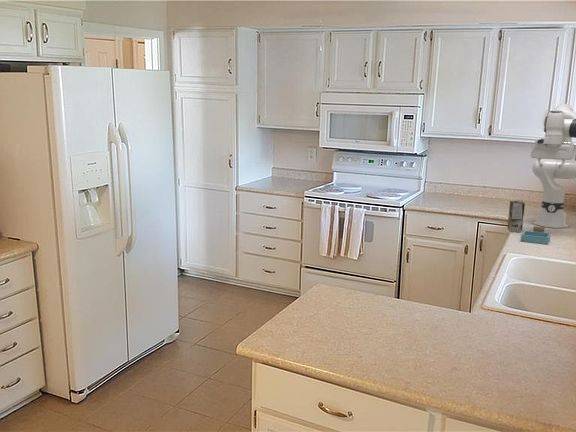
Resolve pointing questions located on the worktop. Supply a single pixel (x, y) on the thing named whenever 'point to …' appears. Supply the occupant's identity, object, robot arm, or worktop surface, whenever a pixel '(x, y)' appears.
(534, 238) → the tray
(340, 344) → the worktop surface
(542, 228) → the walnut block
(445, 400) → the worktop surface
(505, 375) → the worktop surface
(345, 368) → the worktop surface
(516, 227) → the coffee box
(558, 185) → the robot arm
